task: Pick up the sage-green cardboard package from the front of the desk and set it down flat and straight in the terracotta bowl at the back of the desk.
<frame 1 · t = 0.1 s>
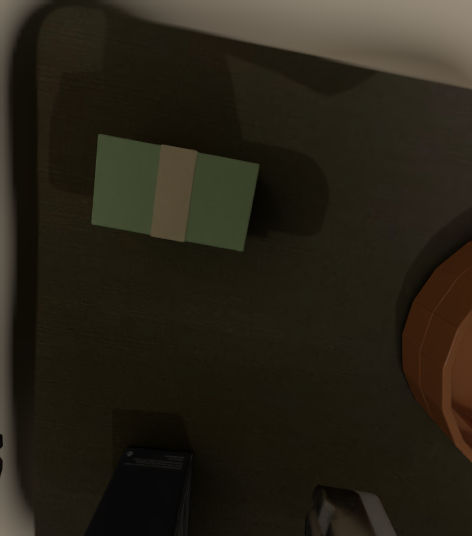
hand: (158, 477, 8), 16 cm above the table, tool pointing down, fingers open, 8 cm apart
small box: (157, 493, 28), on the table
package: (188, 196, 22), on the table
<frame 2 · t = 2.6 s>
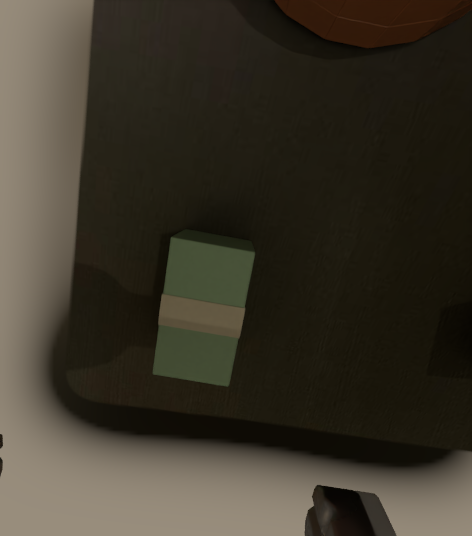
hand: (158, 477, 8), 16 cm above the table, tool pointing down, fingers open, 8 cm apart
package: (208, 292, 23), on the table
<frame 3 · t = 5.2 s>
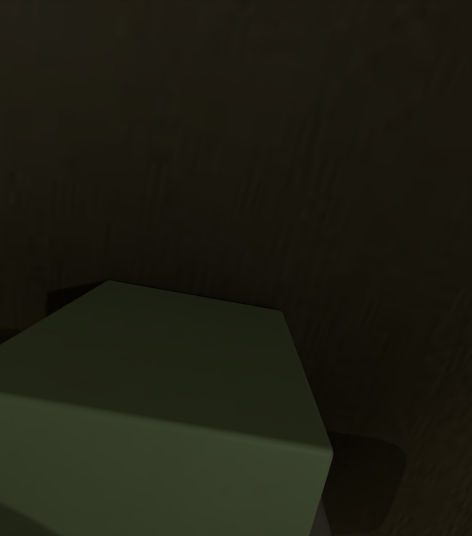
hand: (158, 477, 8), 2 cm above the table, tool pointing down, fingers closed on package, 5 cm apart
package: (174, 429, 10), on the table, touching gripper
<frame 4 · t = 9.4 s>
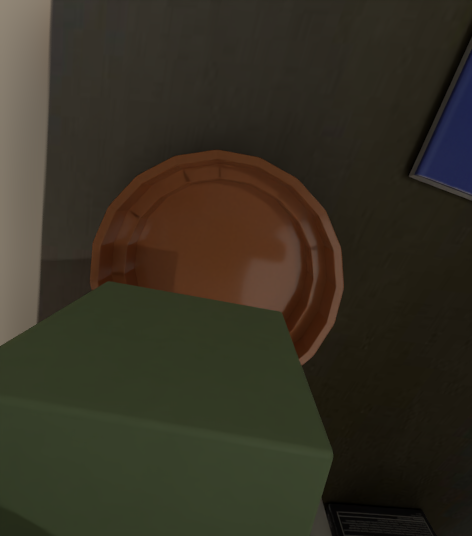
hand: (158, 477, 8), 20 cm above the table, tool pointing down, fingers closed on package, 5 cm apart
small box: (369, 526, 34), on the table
bowl: (221, 268, 27), on the table
package: (174, 430, 10), point 18 cm above the table, touching gripper
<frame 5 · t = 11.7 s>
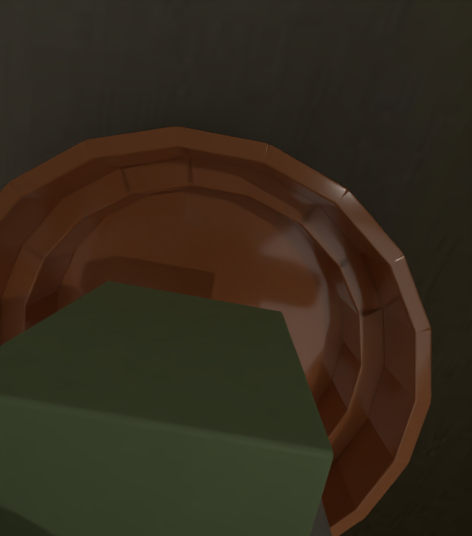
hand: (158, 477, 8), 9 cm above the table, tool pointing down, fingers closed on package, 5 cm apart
bowl: (200, 331, 17), on the table
package: (174, 430, 10), point 7 cm above the table, touching gripper
when the fingers open (2 cm above the table, at t = 13.7 s): package stays where it is, resting on bowl.
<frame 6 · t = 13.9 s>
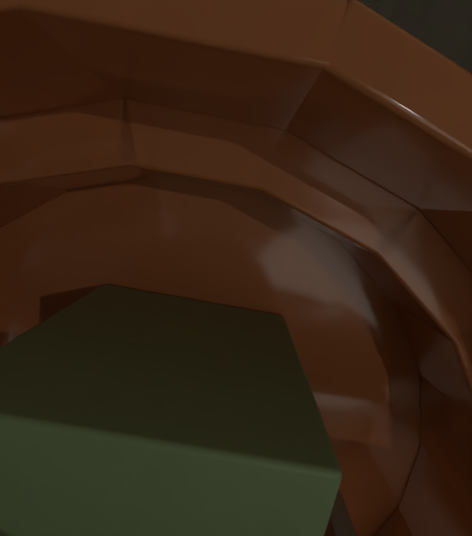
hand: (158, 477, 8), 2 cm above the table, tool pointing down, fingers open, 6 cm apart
bowl: (174, 421, 10), on the table
package: (172, 437, 9), point 1 cm above the table, touching bowl
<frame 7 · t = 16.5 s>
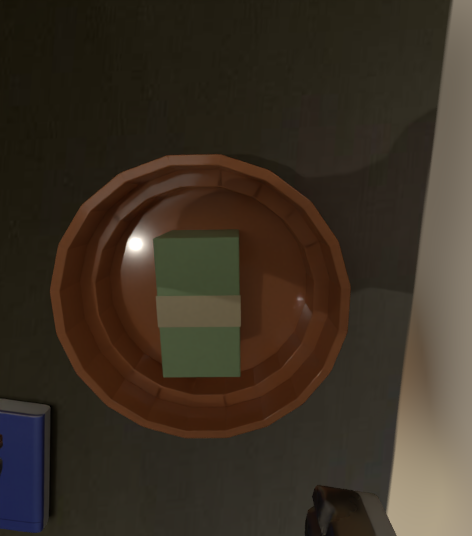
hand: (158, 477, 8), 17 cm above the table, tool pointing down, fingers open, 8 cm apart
hard drive: (8, 456, 28), on the table
bowl: (209, 286, 24), on the table
package: (207, 288, 23), point 1 cm above the table, touching bowl
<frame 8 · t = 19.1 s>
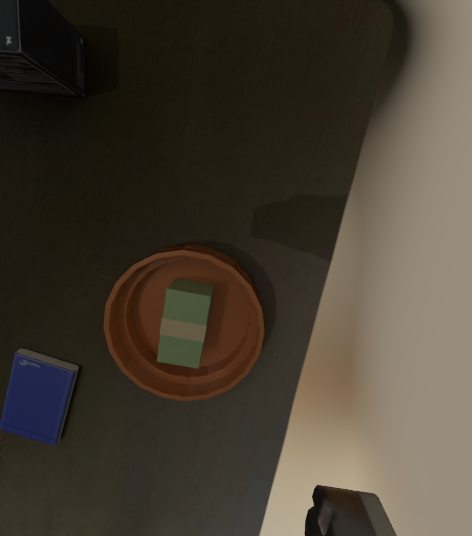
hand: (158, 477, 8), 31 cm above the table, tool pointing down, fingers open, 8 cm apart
small box: (40, 64, 34), on the table
hard drive: (43, 393, 43), on the table
bowl: (191, 312, 40), on the table
package: (190, 314, 39), point 1 cm above the table, touching bowl
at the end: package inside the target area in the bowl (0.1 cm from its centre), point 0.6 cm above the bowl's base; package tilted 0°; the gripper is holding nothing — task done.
